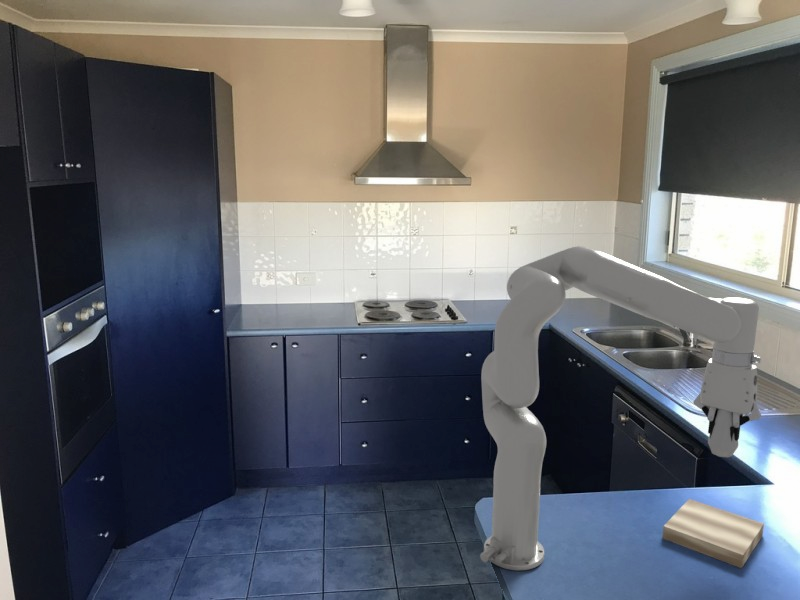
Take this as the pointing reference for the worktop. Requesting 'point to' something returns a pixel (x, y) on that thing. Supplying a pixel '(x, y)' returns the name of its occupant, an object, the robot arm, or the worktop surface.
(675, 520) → the plinth
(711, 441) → the salt shaker
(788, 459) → the worktop surface
